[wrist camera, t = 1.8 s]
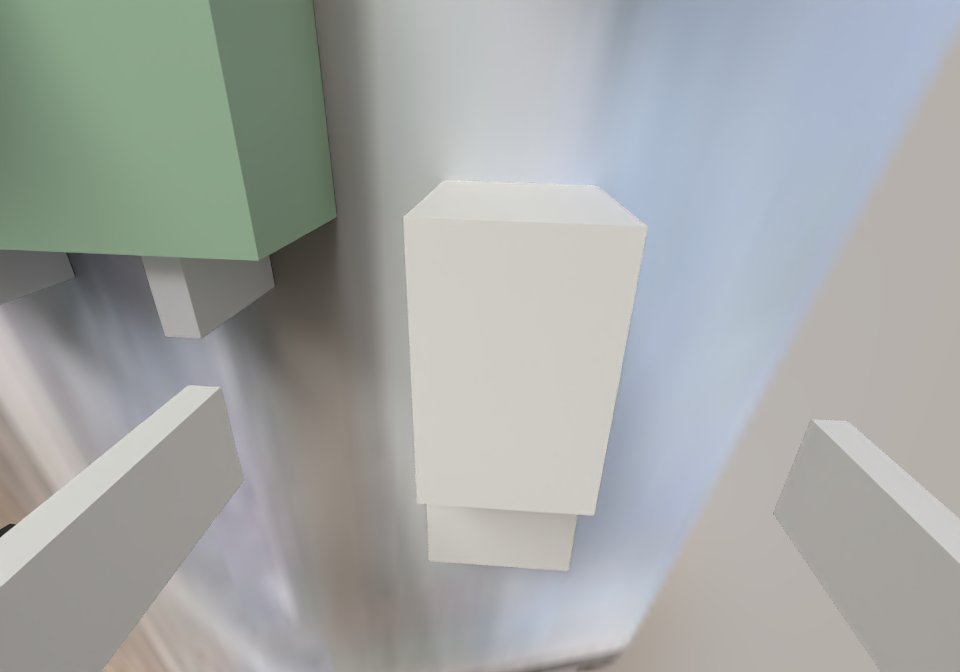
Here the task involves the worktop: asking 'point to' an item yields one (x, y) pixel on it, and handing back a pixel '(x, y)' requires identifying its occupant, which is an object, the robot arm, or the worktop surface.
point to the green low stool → (161, 145)
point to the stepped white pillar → (515, 362)
